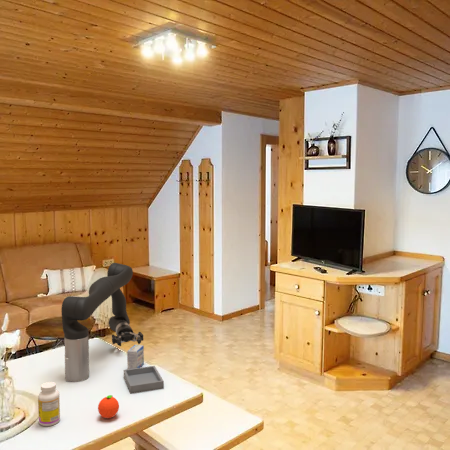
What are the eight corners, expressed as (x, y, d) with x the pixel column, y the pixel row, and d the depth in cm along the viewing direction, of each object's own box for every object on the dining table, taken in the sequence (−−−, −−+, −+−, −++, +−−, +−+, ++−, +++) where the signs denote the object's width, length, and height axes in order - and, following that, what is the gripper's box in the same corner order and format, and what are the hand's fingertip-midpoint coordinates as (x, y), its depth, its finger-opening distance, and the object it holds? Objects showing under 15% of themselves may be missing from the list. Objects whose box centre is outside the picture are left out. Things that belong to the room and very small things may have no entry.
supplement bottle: (42, 417, 159) (41, 380, 158) (62, 416, 160) (61, 380, 159) (36, 427, 153) (34, 389, 151) (57, 426, 153) (56, 388, 152)
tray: (130, 393, 177) (130, 386, 177) (123, 377, 191) (123, 369, 191) (163, 388, 181) (163, 381, 181) (154, 372, 196) (154, 365, 196)
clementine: (102, 410, 164) (102, 390, 164) (122, 410, 164) (122, 391, 163) (95, 421, 156) (95, 401, 156) (116, 422, 156) (115, 402, 156)
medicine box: (137, 371, 197) (137, 351, 196) (127, 370, 198) (126, 350, 197) (144, 364, 205) (143, 345, 204) (134, 363, 206) (134, 344, 205)
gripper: (109, 326, 226) (113, 336, 211) (138, 322, 231) (145, 333, 216) (109, 341, 226) (114, 353, 211) (139, 337, 231) (145, 349, 216)
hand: (130, 343), depth 213 cm, fingers open, 8 cm apart
